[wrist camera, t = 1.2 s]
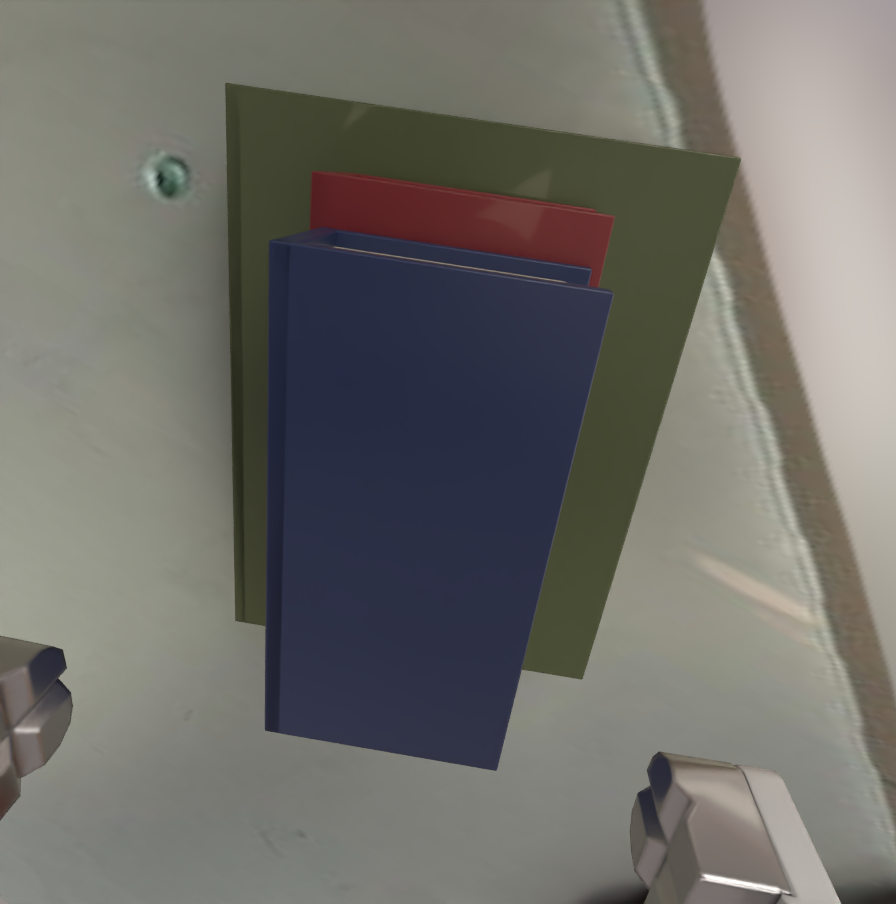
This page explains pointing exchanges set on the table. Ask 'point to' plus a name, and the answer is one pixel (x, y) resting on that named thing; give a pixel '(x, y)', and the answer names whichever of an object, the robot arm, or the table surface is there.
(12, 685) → the robot arm
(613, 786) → the table surface
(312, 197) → the burgundy book
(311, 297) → the navy book
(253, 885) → the table surface
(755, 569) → the table surface
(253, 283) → the olive book
